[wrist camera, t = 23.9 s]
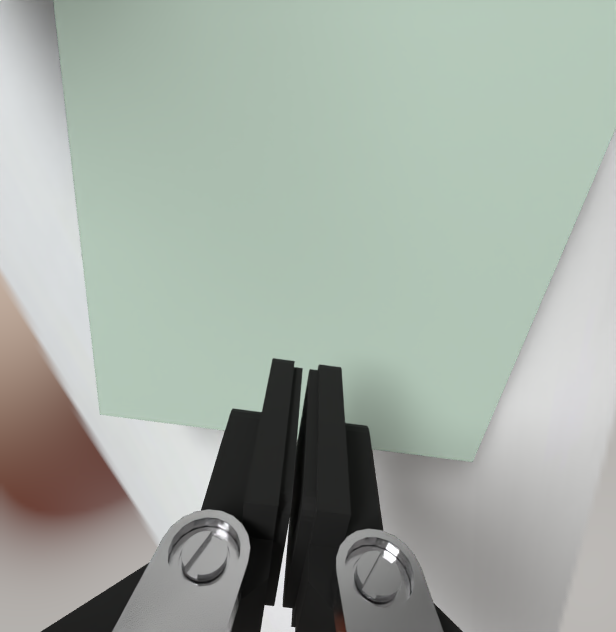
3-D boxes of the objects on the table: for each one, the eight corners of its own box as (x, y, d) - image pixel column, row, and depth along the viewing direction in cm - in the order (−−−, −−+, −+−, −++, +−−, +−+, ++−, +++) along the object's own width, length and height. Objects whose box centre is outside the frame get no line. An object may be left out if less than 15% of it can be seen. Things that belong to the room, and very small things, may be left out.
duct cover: (66, -122, 10) (36, -150, 9) (650, -24, 11) (687, -40, 10) (113, 395, 17) (100, 414, 16) (463, 440, 18) (472, 462, 17)
